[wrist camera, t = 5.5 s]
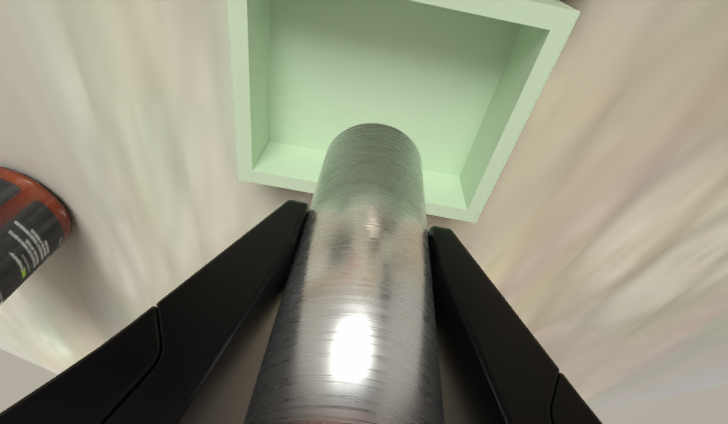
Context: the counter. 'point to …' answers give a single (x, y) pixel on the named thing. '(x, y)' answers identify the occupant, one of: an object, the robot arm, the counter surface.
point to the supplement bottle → (27, 228)
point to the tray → (391, 85)
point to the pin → (357, 296)
